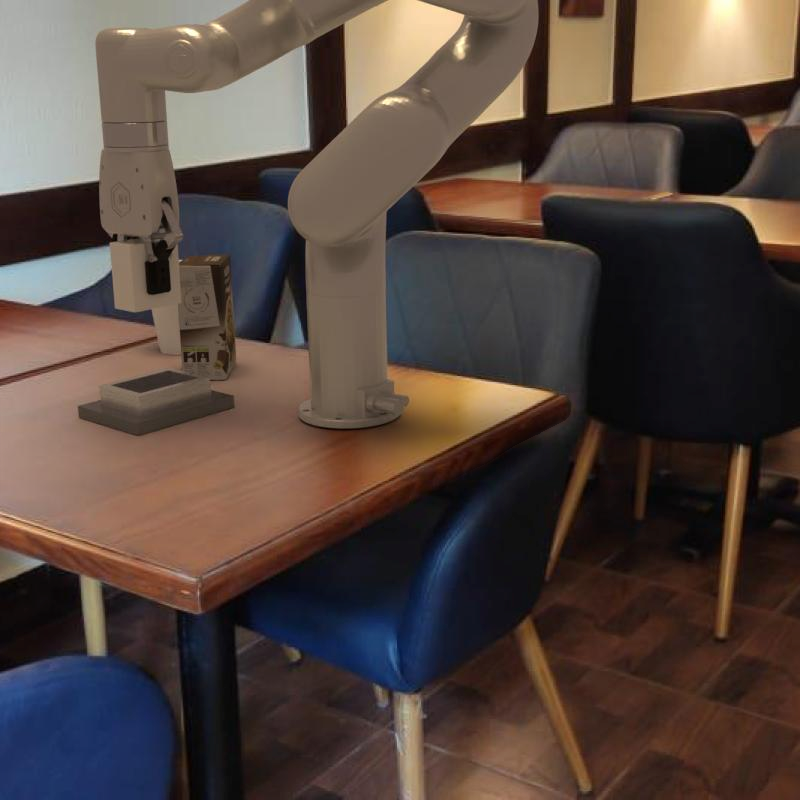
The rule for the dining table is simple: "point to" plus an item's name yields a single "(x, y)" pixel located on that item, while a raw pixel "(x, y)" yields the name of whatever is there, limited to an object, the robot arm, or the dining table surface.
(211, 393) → the duct collar
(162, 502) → the dining table surface
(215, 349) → the coffee box
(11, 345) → the dining table surface
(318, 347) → the robot arm
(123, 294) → the cream rectangular block
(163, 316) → the foam cup
